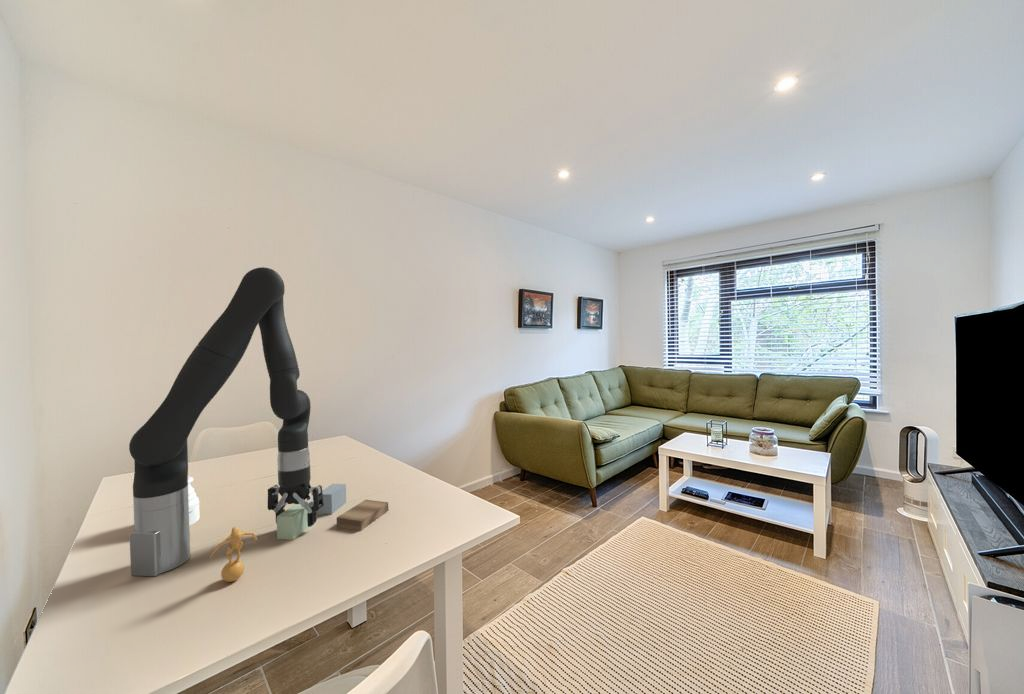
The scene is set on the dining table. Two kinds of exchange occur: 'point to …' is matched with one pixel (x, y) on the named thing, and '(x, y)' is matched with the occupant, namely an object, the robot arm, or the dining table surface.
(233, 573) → the figurine
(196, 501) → the honey pot
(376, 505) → the walnut brick
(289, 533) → the sage brick
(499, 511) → the dining table surface
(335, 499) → the slate brick
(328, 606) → the dining table surface
